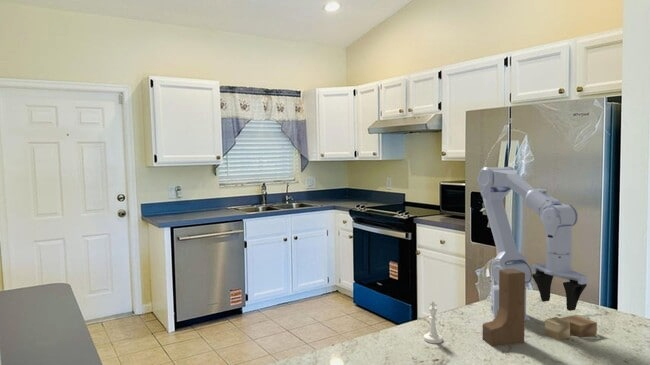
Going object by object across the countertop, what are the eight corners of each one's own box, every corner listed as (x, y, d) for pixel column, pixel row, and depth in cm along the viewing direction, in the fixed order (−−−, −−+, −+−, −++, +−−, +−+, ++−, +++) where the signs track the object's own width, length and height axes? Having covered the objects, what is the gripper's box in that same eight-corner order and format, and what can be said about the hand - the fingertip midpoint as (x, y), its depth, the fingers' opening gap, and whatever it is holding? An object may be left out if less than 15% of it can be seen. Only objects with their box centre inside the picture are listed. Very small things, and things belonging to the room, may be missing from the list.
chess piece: (430, 334, 117) (430, 296, 117) (446, 339, 114) (446, 300, 113) (419, 339, 114) (419, 301, 113) (436, 345, 110) (436, 305, 110)
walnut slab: (579, 337, 113) (580, 325, 112) (559, 329, 118) (559, 318, 118) (596, 333, 115) (596, 322, 115) (575, 325, 120) (575, 314, 120)
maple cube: (558, 340, 111) (558, 324, 111) (545, 334, 115) (544, 319, 115) (570, 337, 113) (569, 322, 112) (556, 331, 116) (556, 316, 116)
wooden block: (491, 348, 108) (492, 274, 107) (481, 340, 113) (482, 270, 112) (524, 344, 110) (525, 272, 109) (513, 337, 114) (514, 268, 113)
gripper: (523, 248, 118) (523, 299, 119) (572, 259, 104) (572, 316, 105) (543, 246, 120) (543, 295, 121) (593, 256, 107) (593, 312, 108)
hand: (558, 305), depth 113 cm, fingers open, 7 cm apart
